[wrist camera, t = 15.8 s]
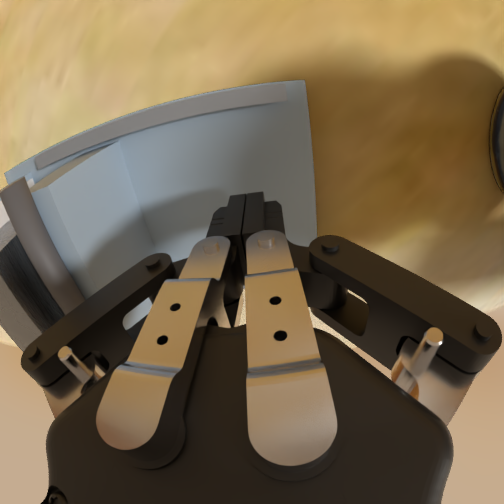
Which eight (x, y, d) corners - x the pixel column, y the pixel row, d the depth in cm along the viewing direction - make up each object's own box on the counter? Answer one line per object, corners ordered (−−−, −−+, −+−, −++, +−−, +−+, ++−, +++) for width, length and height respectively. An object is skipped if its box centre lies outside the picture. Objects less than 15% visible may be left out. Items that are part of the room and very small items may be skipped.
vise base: (68, 283, 20) (30, 347, 14) (14, 167, 14) (-53, 216, 8) (314, 259, 18) (336, 351, 12) (300, 79, 11) (342, 80, 6)
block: (76, 265, 17) (23, 352, 11) (42, 192, 14) (-38, 268, 7) (118, 260, 17) (65, 360, 10) (84, 176, 13) (-9, 260, 7)
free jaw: (130, 283, 18) (91, 370, 12) (73, 144, 12) (-18, 203, 6) (168, 279, 17) (136, 375, 12) (115, 128, 12) (20, 182, 6)
